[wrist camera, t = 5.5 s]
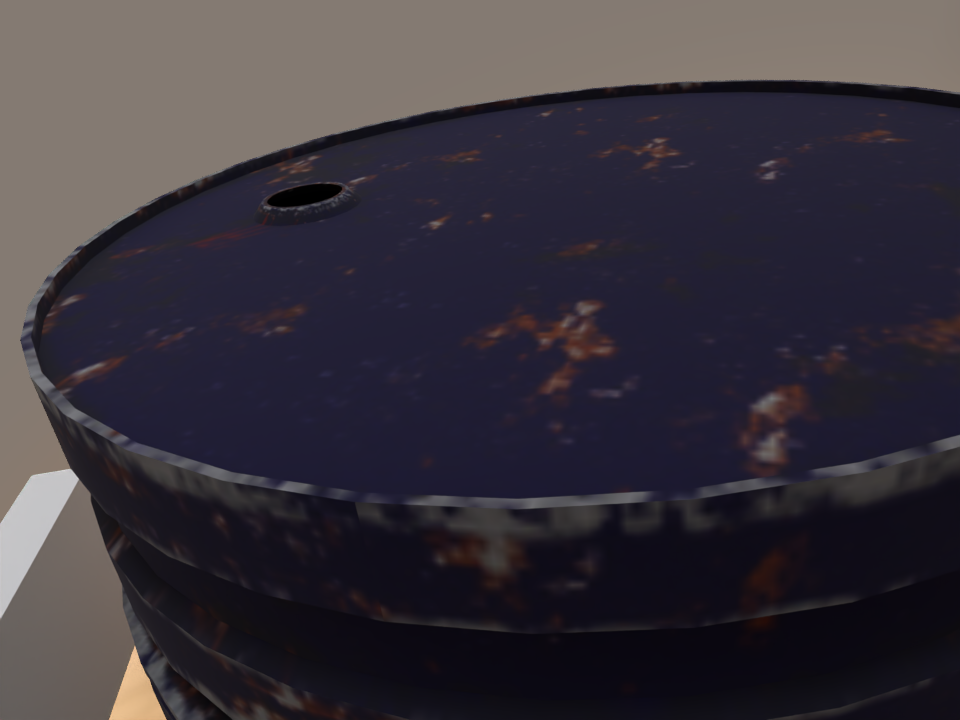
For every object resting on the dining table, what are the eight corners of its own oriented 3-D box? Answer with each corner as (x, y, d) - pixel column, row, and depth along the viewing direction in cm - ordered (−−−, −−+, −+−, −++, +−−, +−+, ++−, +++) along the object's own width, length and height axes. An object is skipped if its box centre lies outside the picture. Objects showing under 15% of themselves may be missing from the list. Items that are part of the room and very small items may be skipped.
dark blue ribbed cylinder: (899, 797, 17) (1039, 53, 10) (1017, 1620, 9) (2125, 712, 2) (457, 715, 20) (332, 105, 13) (248, 1267, 12) (-349, 442, 5)
